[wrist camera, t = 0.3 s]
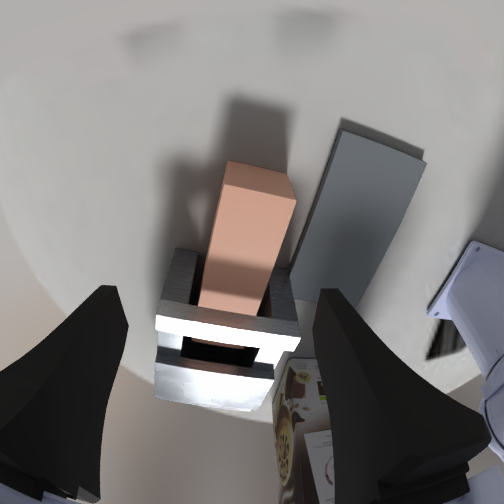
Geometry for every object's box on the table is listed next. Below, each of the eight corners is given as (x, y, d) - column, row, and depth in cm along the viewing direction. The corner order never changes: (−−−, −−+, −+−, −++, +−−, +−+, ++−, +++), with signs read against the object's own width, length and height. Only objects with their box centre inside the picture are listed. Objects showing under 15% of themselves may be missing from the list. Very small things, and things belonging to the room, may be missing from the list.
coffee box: (286, 356, 27) (305, 535, 14) (352, 357, 28) (391, 518, 14) (269, 405, 32) (278, 542, 19) (324, 404, 33) (345, 534, 19)
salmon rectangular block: (286, 172, 18) (296, 200, 15) (242, 308, 24) (243, 349, 21) (227, 159, 18) (224, 184, 14) (197, 300, 24) (191, 341, 20)
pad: (422, 160, 17) (426, 163, 17) (353, 302, 24) (355, 308, 23) (340, 128, 16) (343, 130, 16) (280, 291, 23) (281, 296, 22)
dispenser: (288, 269, 22) (301, 337, 17) (250, 364, 28) (251, 424, 22) (175, 247, 21) (156, 314, 15) (164, 350, 26) (153, 410, 21)
